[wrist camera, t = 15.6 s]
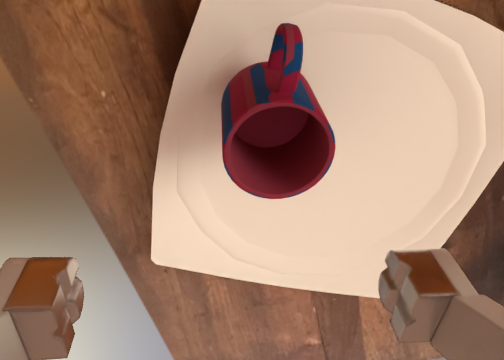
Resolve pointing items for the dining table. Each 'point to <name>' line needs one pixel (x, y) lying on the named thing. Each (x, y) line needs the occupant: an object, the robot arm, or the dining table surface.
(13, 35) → the dining table surface
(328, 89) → the plate
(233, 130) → the mug
